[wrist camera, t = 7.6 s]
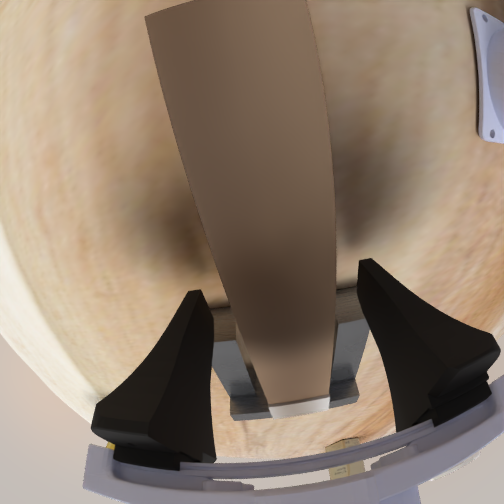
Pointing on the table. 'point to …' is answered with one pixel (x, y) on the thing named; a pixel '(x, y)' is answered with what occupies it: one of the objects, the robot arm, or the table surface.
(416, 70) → the table surface
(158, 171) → the table surface
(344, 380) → the u-shaped metal bracket
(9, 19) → the table surface
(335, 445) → the skincare box
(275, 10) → the walnut rail
